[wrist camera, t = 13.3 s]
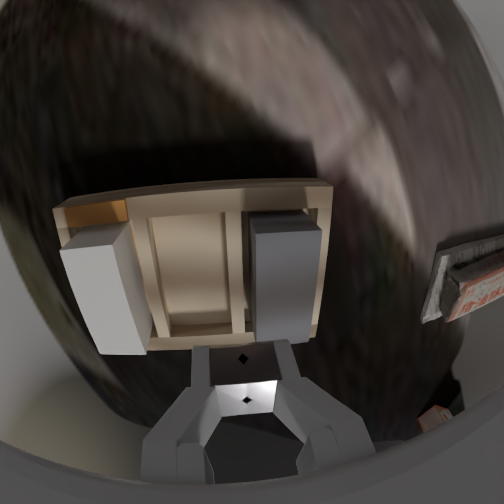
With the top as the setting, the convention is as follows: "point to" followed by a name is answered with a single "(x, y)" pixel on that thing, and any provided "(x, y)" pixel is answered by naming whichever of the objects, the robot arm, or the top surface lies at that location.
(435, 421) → the cracker box
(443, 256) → the packaged product
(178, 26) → the top surface
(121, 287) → the white rectangular block
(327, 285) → the top surface
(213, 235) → the rack
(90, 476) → the robot arm
